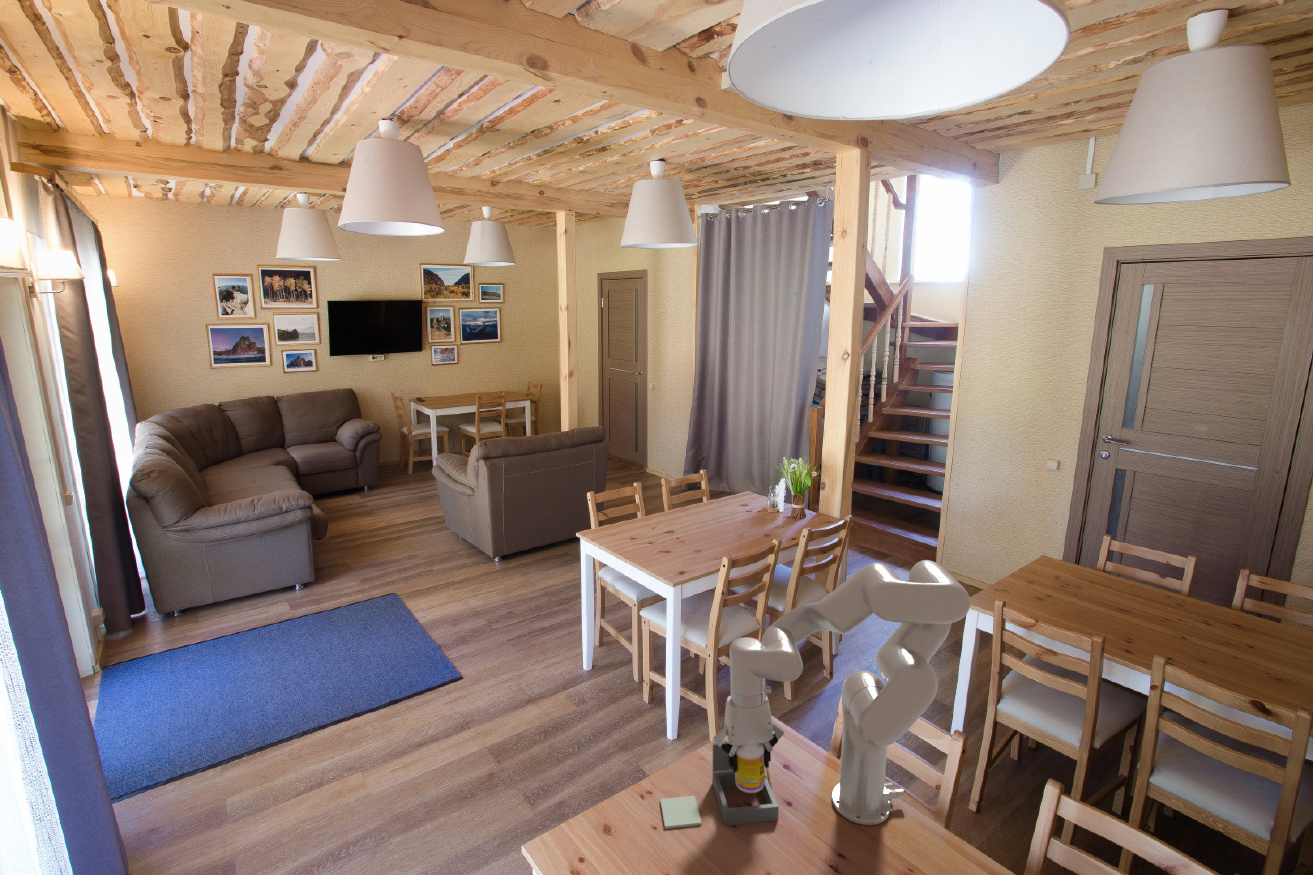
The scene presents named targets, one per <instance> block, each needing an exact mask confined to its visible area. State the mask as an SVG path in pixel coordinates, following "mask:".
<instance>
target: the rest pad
mask: <svg viewBox="0 0 1313 875" xmlns="http://www.w3.org/2000/svg"><path fill="white" fill-rule="evenodd" d="M659 801H660V807H661V812H662V818H663V819H662V820H663V826H664V829H666V830H667V829H675V828H686V827H695V826H701V825H702V820H701V816H700V812H699V808H698V807H699V806H698V803H697V798H696V796H695V795H689V796H688V795H687V796H679V797H667V798H660V800H659Z"/></svg>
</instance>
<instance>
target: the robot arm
mask: <svg viewBox="0 0 1313 875" xmlns="http://www.w3.org/2000/svg"><path fill="white" fill-rule="evenodd" d="M970 607H971V599H970V595H969V593H968V591H967V589H966V588H965V587H964V586H963V585H962V584H961V583H960V582H959V581H958V580H957V579H955V578H954V576H952V574H951V573H950V572H949V571H948V570H947V569H945V568H944V566H942V565H941V564H939V563H937V562H935V561H933V560H930V559H929V560H928V559H924V560H920V561H918V562H916V563H915V564H914V565H913V566H912V568H911V569H910V571H909V574H908V581H904V580H902V579H901V578H900V577H899V576H898V574H896V573H895V571H894V570H892V569H891V568H890V567H889V566H888V565H885V564H883V563H880V562H872V563H869V564H867V565H865V566H864V567H862V568H861V569H860V570H858V571H856V572H855V574H853V575H851V576H850V577H849V578H848V579H847V580H845V581H844V582H843V583H841V584H840V585H839V586H837V587H836V588H835V589H834V590H833V591H831V592H830V593H828V594H827V595H826V596H825V597H823V598H822V599H820V600H818V601H815V602H814V601H813V602H810V603H807V604H804V605H801V606H796V607H795V608H793V609H791V610H788V611H787V612H785V613H784V614H783V615H782V616H780V617H779V618H778V619H776V621H774V622H773V623H772V624H770V626H769V627H768V628H767V629H766V630H765V631H764V632H763V635H762V637H761V641H760V640H758V639H757V638H755V637H751V636H750V637H749V636H747V637H746V636H743V637H742V636H741V637H738V638H736V639H734V640H732V642H731V643H730V645H729V676H730V679H729V680H730V695H729V696H727V697H726V698H727V699H726V702H725V713H724V726H723V727H722V728H721V729H720V730H719V731H718V732H717V733H716V734H715V736H713V741H714V742H715V743H716V744H717V745H718V746H719V747H721V748H722V750H724V751H725V752H726V753H728V762H729V766H730V767H732V769H733V771H734V772H736V771H737V757H736V754H735V752H736V750H737V748H738V746H741V745H747V743H748V741H749V740H755V742H756V744H757V743H763V746H764V767H765V769H766V768H769V769H770V762H771V761H772V756H771V755H772V754H771V753H772V751H773V748H774V747H775V746H776V745H777V743H778V742H779V740H780V739H781V738H782V737H783V735H784V734H785V731H784V730H783V728H782V727H781V726H779V725H778V724H776V723H775V722H773V720H772V713H771V707H770V703H769V699H768V696H767V695H769V694H771V693H772V687H771V686H767V685H766V680H770V681H776V682H785V683H786V682H793V681H795V680H797V679H798V678H799V677H800V676H801V675H802V673H803V669H804V665H803V660H802V656H801V654H800V651H799V648H798V646H797V645H798V644H799V643H801V642H802V641H803V640H804V639H807V637H809V636H810V635H812V634H815V633H817V632H821V631H829V632H833V633H836V634H841V635H847V634H849V633H850V632H852V630H855V628H857V627H858V626H859V625H861V624H862V623H864V622H865V621H866V620H868V619H869V618H870V617H871V616H873V614H874V616H875V617H878V618H879V619H881V620H883V621H886V622H892V623H901V624H900V625H899V626H898V627H897V628H896V629H895V631H894V632H893V633H892V634H891V636H890V637H889V638H888V639H887V640H886V641H885V643H883V645H881V647H880V649H878V651H877V654H876V658H875V663H876V667H877V668H878V671H879V673H880V675H881V677H882V678H883V680H884V681H883V680H882V679H881V678H880V677H879V676H878V675H877V674H875V673H873V672H871V671H869V670H857V671H853V672H852V673H851V674H850V675H848V677H847V678H846V679H845V680H844V683H843V686H842V689H841V705H842V706H841V707H842V734H841V735H842V736H841V737H842V738H841V753H840V755H841V756H840V769H839V770H840V774H839V783H838V784H836V785H835V786H834V787H833V790H832V794H831V800H832V804H833V806H834V808H835V809H836V811H837V812H838V813H839V814H840V815H841V816H842V817H844V818H845V819H847V820H848V821H850V822H852V823H855V824H860V825H864V826H865V825H866V826H874V825H879V824H881V823H883V822H885V821H886V820H887V819H888V818H889V816H890V815H891V803H890V802H891V801H893V799H897V800H898V799H904V798H906V797H905V791H904V789H903V788H894V783H893V782H886V767H887V754H888V746H890V745H892V744H894V743H895V742H898V741H899V740H900V739H901V738H902V737H903V736H904V735H905V734H906V733H907V732H908V730H909V729H911V727H912V726H913V725H914V723H916V722H917V721H918V719H919V718H920V717H921V716H922V715H923V714H924V713H925V712H926V711H927V709H928V708H929V707H930V706H931V705H932V703H933V702H934V700H935V698H936V695H937V694H938V693H937V692H938V689H939V688H938V686H939V685H938V683H939V682H938V678H937V676H936V673H935V671H934V670H933V667H932V666H930V664H929V662H930V660H931V659H932V657H933V656H934V655H935V654H936V653H937V651H938V650H939V648H940V647H941V646H942V645H943V643H944V642H945V640H946V639H947V637H948V635H949V633H950V630H951V628H952V623H956V622H959V621H960V620H962V619H964V618H965V617H966V616H967V614H968V613H969V611H970ZM726 737H727V739H728V740H727V741H728V743H726V742H725V740H724V739H725V738H726Z"/></svg>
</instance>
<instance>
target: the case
mask: <svg viewBox="0 0 1313 875" xmlns="http://www.w3.org/2000/svg"><path fill="white" fill-rule="evenodd" d="M724 741H725V740H724ZM728 741H729V740H726V741H725V742H726V743H728ZM762 744H763V743H762ZM765 770H766V774H765V784H764V787H763V788H762V790H761V792H762V795H763V797H764V800H765V801H766V804H757V805H748V806H747V805H746V806H738V807H737V806H736V807H729V805H728V802H727V800H726V796H725V793H724V790H723V789H731V788H738V787H737V785H736V782H735V772H734V771H733V769H732V767H730V766H729V762H728V753H726V752H725V751H724V750H722V748H721V747H719V746H718V745H717V744H716V743H715V741H714V742H712V771H711V772H712V776H711V777H712V778H711V782H712V783H711V784H712V787H713V790H714V794H715V797H716V801H717V804H718V808H719V811H720V814H721V818H722V821H723V825H724V827H729V826H738V825H739V826H740V825H748V824H749V825H750V824H757V823H758V824H759V823H765V822H766V823H767V822H776V821H779V804H778V802H777V799H776V797H775V795H774V794H775V793H774V792H773V785H772V779H771V773H770V767H769V768H766V767H765Z"/></svg>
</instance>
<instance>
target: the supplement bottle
mask: <svg viewBox="0 0 1313 875" xmlns="http://www.w3.org/2000/svg"><path fill="white" fill-rule="evenodd" d="M735 754H736V757H737V771H736V772H735V782H736V785H737V787H736V788H738V790H740V791H742V792H744V793H746V794H756V793H758V792H761V791H762V788H763V787H764V784H765V775H766V773H765V770H766V767H765V765H764V746H763V744H762V743H757V744H756V742H755V740H749V741H748V743H747V745H741V746H738V748H737V750H736V752H735Z"/></svg>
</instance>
